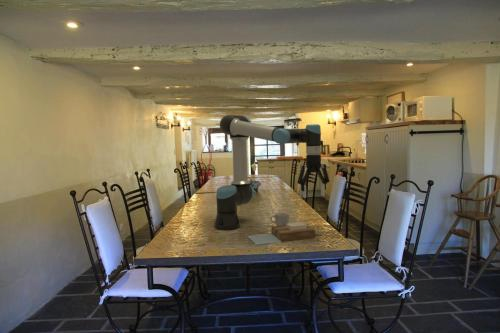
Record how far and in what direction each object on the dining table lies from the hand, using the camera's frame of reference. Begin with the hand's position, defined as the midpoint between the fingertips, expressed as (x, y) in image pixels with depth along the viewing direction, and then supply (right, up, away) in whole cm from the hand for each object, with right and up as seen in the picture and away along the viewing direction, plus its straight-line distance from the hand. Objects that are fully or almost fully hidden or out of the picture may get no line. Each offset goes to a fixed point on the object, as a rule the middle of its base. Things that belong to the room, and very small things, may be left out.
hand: (313, 196), depth 170 cm
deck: (-11, -20, -2) cm, 23 cm away
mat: (-26, -21, -6) cm, 34 cm away
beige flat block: (-9, -16, -1) cm, 19 cm away
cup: (-16, -19, +16) cm, 30 cm away
